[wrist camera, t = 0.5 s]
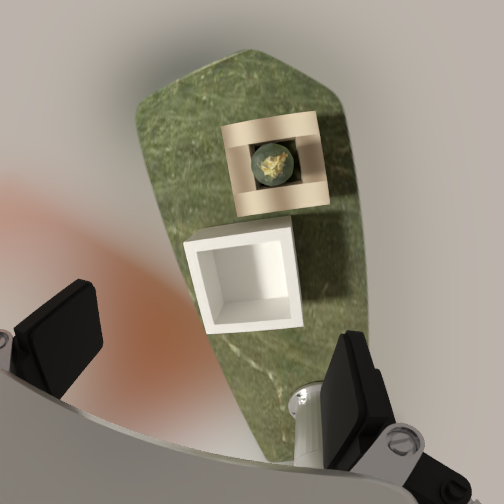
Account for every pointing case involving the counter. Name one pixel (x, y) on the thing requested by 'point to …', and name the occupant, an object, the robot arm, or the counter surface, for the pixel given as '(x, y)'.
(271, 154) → the vegetable
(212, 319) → the bin
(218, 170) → the counter surface
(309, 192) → the holder
